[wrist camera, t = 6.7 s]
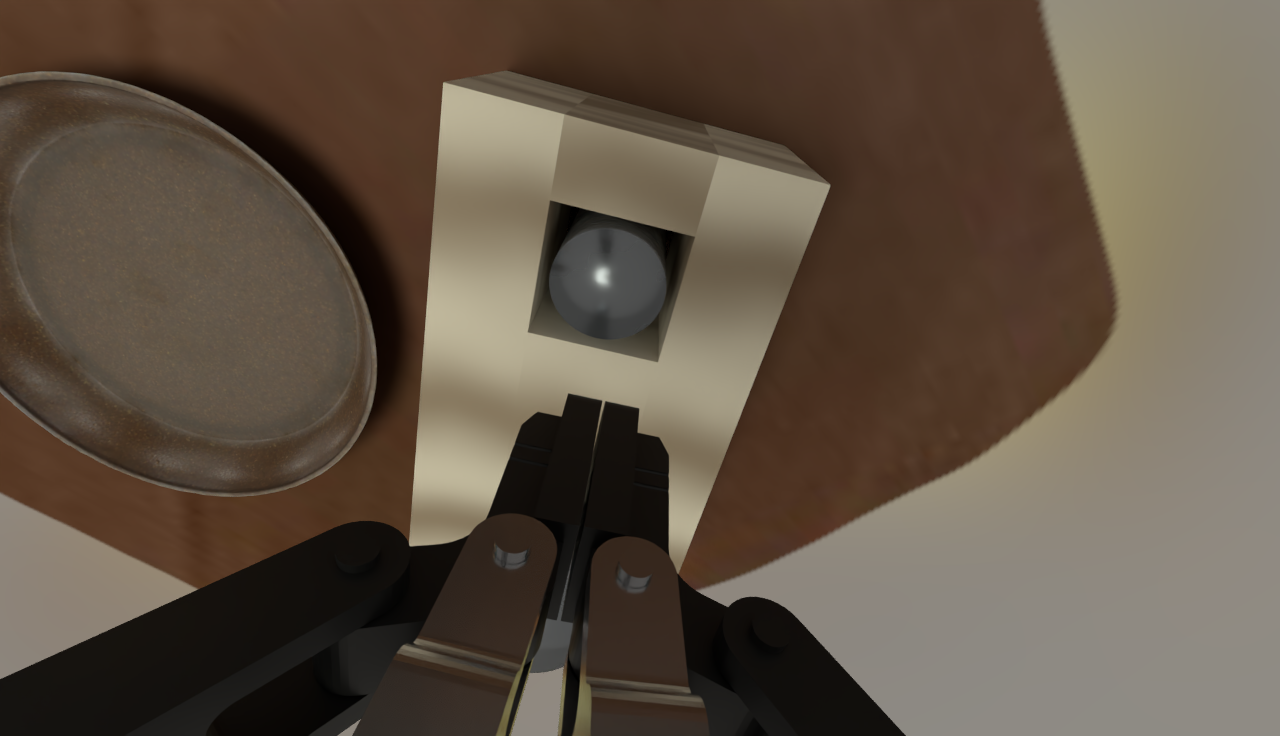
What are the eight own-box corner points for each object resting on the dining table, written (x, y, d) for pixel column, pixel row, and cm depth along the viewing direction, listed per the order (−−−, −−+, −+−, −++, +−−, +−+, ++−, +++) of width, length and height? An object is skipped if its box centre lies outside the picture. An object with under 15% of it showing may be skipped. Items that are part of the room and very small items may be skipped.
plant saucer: (-110, 234, 29) (-196, 255, 26) (145, -45, 23) (70, -58, 20) (231, 509, 37) (195, 549, 34) (485, 355, 31) (467, 387, 28)
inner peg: (586, 170, 26) (560, 215, 19) (675, 193, 26) (680, 245, 19) (570, 256, 28) (540, 325, 21) (653, 276, 28) (650, 350, 21)
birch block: (506, 70, 24) (443, 82, 17) (784, 145, 25) (830, 185, 18) (457, 477, 35) (406, 587, 28) (655, 519, 36) (654, 635, 29)
